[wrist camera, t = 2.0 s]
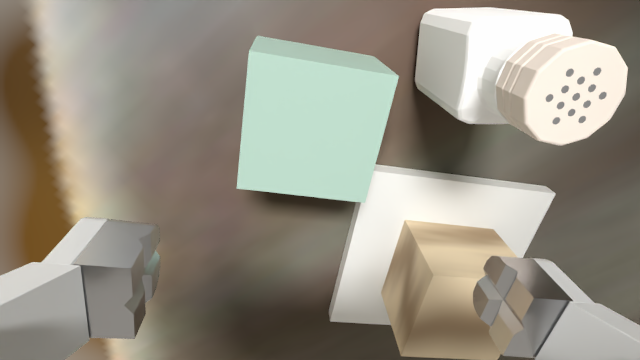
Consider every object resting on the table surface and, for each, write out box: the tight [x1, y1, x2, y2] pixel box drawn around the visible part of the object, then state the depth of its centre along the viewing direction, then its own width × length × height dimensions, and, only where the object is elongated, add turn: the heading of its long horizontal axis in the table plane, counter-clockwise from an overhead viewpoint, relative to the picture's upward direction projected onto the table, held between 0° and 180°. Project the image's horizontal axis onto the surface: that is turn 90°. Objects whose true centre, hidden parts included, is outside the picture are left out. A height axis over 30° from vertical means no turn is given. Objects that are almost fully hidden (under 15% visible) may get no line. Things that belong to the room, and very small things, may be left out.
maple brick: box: [381, 220, 518, 360], centre depth 23 cm, size 6×6×5 cm
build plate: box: [329, 164, 556, 325], centre depth 25 cm, size 12×12×1 cm
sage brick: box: [237, 36, 399, 203], centre depth 18 cm, size 6×6×5 cm
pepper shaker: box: [415, 7, 628, 146], centre depth 15 cm, size 4×4×10 cm
